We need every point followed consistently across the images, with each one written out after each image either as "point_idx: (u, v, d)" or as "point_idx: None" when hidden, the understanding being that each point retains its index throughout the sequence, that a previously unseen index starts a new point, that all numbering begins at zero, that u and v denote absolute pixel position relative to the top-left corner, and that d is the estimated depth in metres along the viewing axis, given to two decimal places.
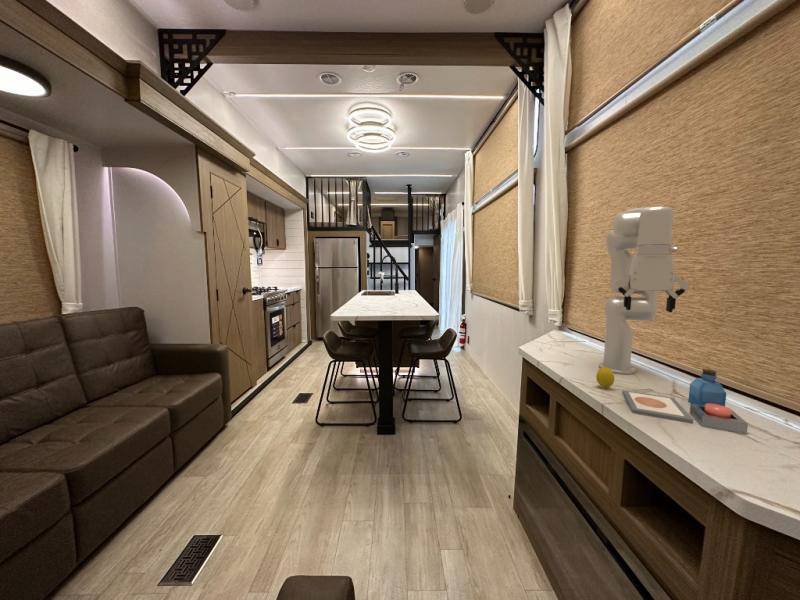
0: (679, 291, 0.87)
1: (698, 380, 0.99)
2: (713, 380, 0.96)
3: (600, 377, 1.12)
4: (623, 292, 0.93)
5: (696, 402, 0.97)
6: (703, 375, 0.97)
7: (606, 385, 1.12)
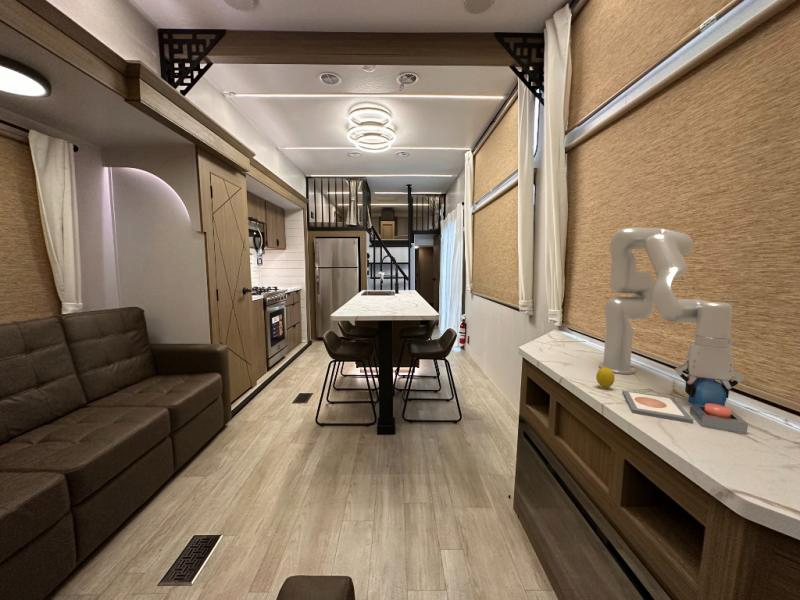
0: (732, 382, 0.94)
1: (698, 380, 0.99)
2: (713, 380, 0.96)
3: (600, 377, 1.12)
4: (685, 379, 0.99)
5: (696, 402, 0.97)
6: None
7: (606, 385, 1.12)
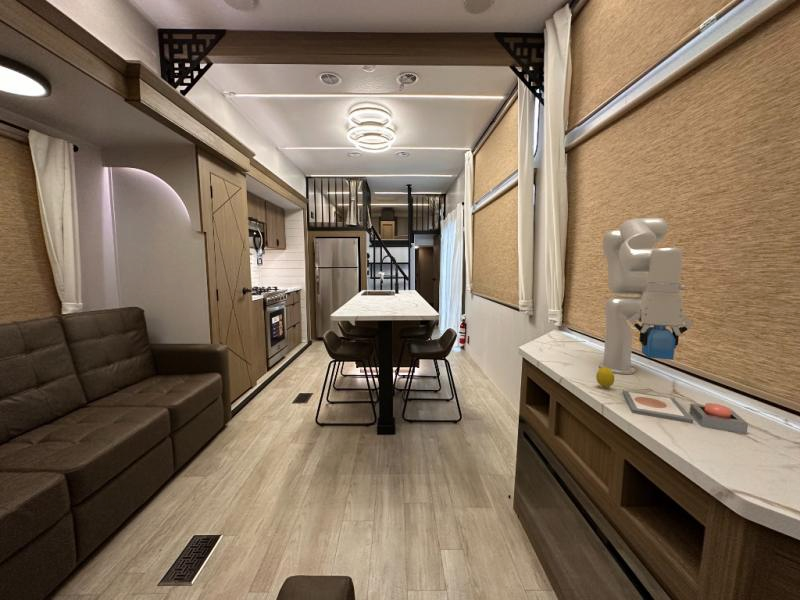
0: (682, 329, 0.93)
1: (650, 329, 0.98)
2: (663, 327, 0.95)
3: (600, 377, 1.12)
4: (639, 328, 0.98)
5: (647, 350, 0.97)
6: None
7: (606, 385, 1.12)
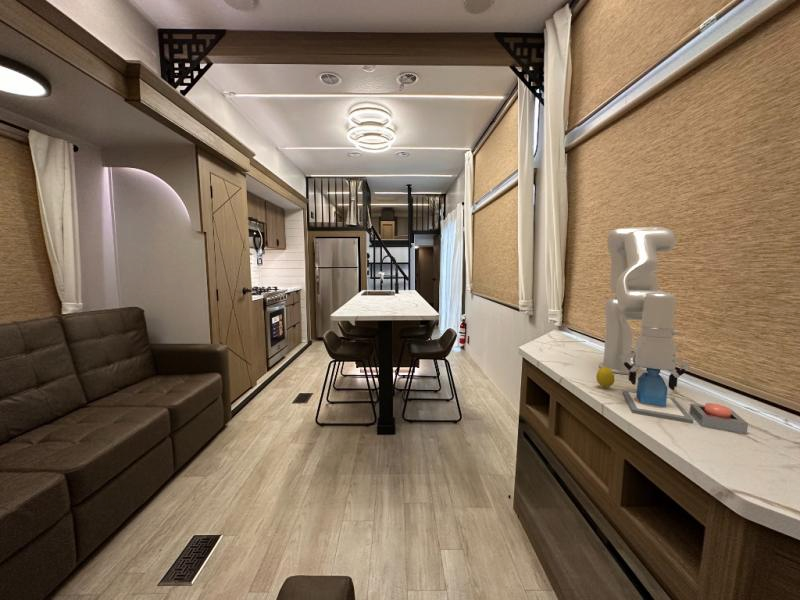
0: (680, 371, 0.94)
1: (643, 374, 1.00)
2: (656, 374, 0.97)
3: (600, 377, 1.12)
4: (628, 367, 1.00)
5: (640, 396, 0.99)
6: (647, 369, 0.98)
7: (606, 385, 1.12)
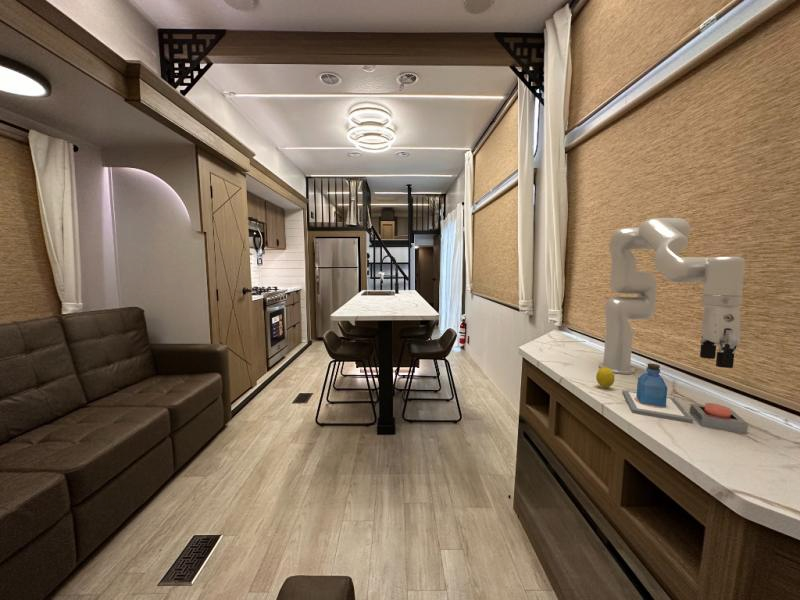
0: (725, 346, 0.81)
1: (643, 374, 1.00)
2: (656, 374, 0.97)
3: (600, 377, 1.12)
4: None
5: (640, 396, 0.99)
6: (647, 369, 0.98)
7: (606, 385, 1.12)
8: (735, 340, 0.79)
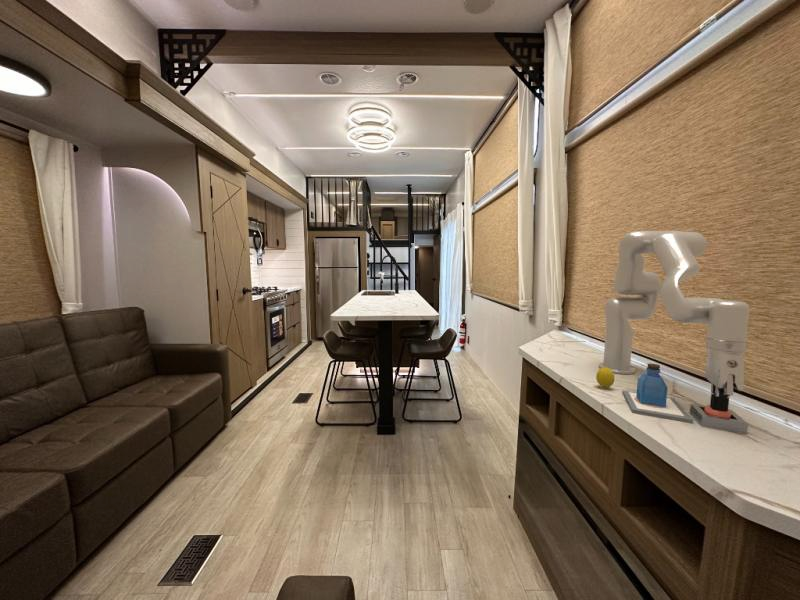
0: (720, 391, 0.85)
1: (643, 374, 1.00)
2: (656, 374, 0.97)
3: (600, 377, 1.12)
4: None
5: (640, 396, 0.99)
6: (647, 369, 0.98)
7: (606, 385, 1.12)
8: None
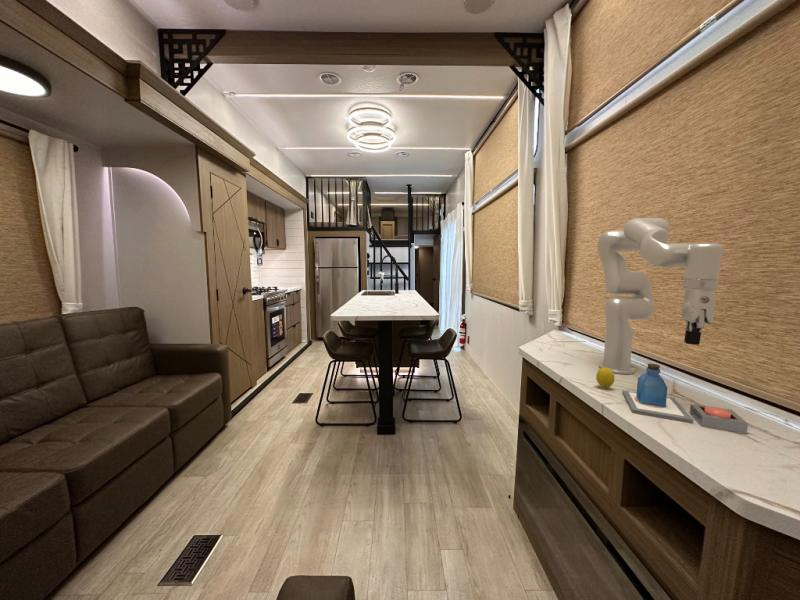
0: (693, 326, 0.94)
1: (643, 374, 1.00)
2: (656, 374, 0.97)
3: (600, 377, 1.12)
4: None
5: (640, 396, 0.99)
6: (647, 369, 0.98)
7: (606, 385, 1.12)
8: (701, 327, 0.91)
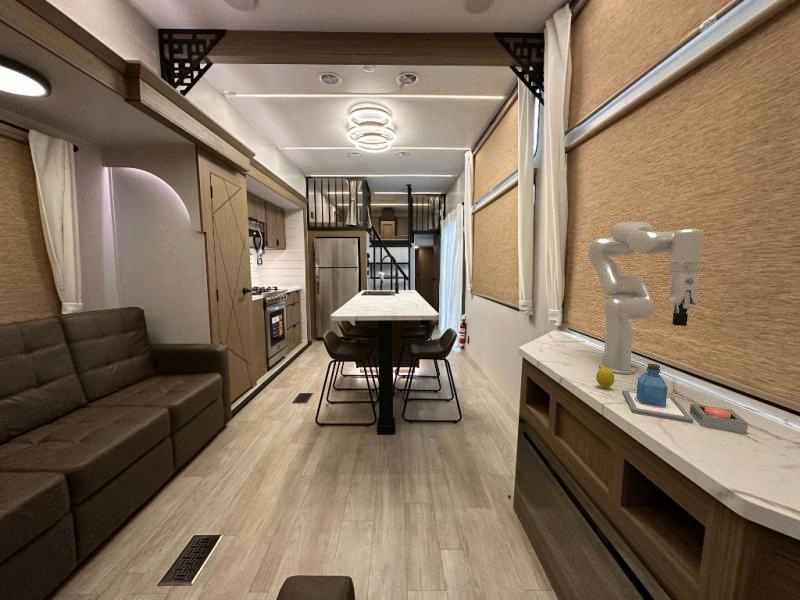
0: (680, 307, 0.99)
1: (643, 374, 1.00)
2: (656, 374, 0.97)
3: (600, 377, 1.12)
4: None
5: (640, 396, 0.99)
6: (647, 369, 0.98)
7: (606, 385, 1.12)
8: (687, 308, 0.96)
